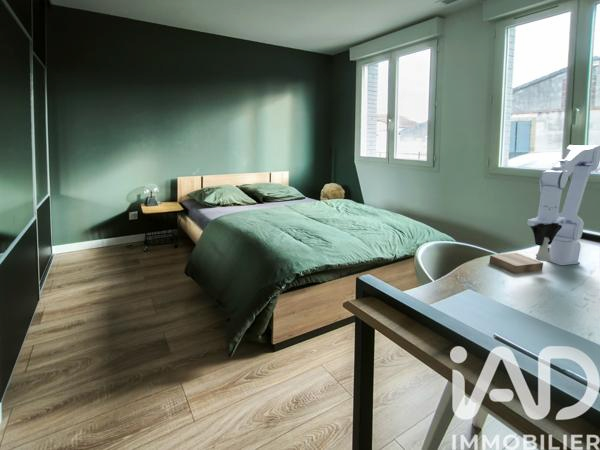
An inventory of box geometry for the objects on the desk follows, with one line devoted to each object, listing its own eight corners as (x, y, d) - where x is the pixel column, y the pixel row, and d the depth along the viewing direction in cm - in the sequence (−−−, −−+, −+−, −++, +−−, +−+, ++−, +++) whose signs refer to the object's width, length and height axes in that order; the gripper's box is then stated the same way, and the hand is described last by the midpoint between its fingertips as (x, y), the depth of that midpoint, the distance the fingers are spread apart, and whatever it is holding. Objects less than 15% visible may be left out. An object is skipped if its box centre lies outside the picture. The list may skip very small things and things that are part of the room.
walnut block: (515, 260, 143) (516, 252, 142) (542, 270, 131) (543, 262, 131) (489, 262, 140) (490, 255, 139) (514, 274, 128) (515, 266, 128)
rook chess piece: (552, 261, 125) (554, 238, 124) (537, 261, 126) (539, 238, 125) (548, 258, 129) (549, 236, 128) (533, 258, 131) (534, 236, 129)
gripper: (542, 209, 118) (536, 249, 122) (577, 207, 122) (570, 245, 125) (524, 205, 125) (518, 243, 128) (557, 203, 129) (551, 240, 132)
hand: (542, 244), depth 127 cm, fingers closed on rook chess piece, 3 cm apart
